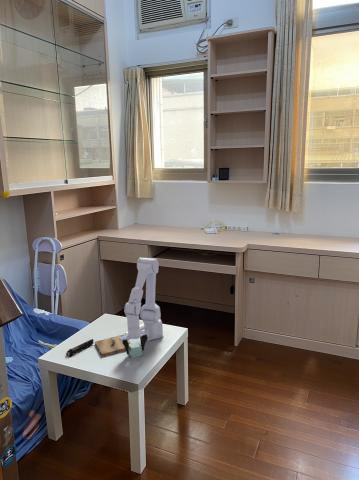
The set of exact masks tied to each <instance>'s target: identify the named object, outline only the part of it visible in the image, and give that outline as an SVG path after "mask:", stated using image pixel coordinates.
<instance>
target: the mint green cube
mask: <svg viewBox="0 0 359 480" xmlns="http://www.w3.org/2000/svg"><path fill="white" fill-rule="evenodd" d="M130 343H131V342H130ZM129 356H130V357H131V358H132V359H134V358H138V357H142V356H143V351H142V348H141V343H140V342H139V341H136V342H132V343H131V344H129Z"/></svg>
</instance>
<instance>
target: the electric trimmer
mask: <svg viewBox="0 0 359 480" xmlns="http://www.w3.org/2000/svg"><path fill="white" fill-rule="evenodd" d="M93 344H94V339H93V338H92V339H90V340H88V341H85V342H83V343H81V344H79V345H76V346H75V347H72V348H69V349H68V350H67V351H66V353H65V355H66V356H67V357H69V358H70V357H71V358H72V357H73V355H75V354H77V353H79V352H81V351H82V350H86V349H87V348H89V347H90V346H91V345H93Z"/></svg>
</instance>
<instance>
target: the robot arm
mask: <svg viewBox="0 0 359 480" xmlns="http://www.w3.org/2000/svg"><path fill="white" fill-rule="evenodd" d="M159 264H160V262H159V260H158V259H157V258H150V257H141V256H140V257H139V258H138V259H137V262H136V269H137V276H136V281H135V285H134V287H133V288H131V292H130V294H129V298H128V302H126V303H125V304H124V307H123V308H124V309H123V312H124V314H125V317H126V322H127V332H128V334H126V335H125V334H123V335H124V336H122V337H119V341H120V342H122V343H123V345H124V347H125V352H126V355H128V356H130V354H129V343H128V341H127V340H129V341H130V340H138V339H140V345H141V348H142V352H143V351H145V346H146V343H147V342H149V341H152V340H157V339H161V338H163V337H164V334H163V333H164V332H163V331H164V330H163V321H162V319H161V315H162V314H161V307H160V306H159V305H158V304H157V303H156V284H157V283H156V282H157V277H156V276H157V274H158V273H159ZM144 285H145V286H146V287H145V304H143V305H142V298H143V294H144V290H143V287H144ZM141 305H142V306H141ZM140 320H141V321H142V323H143V324H144V328H143V329H144V330H140V325H141V324H140Z"/></svg>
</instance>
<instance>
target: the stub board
mask: <svg viewBox="0 0 359 480" xmlns="http://www.w3.org/2000/svg"><path fill="white" fill-rule="evenodd" d="M124 335H125V334H120V335H116V336H113V337H107V338H104V339H101V340H96V341H94V345H95V347H96V349H97V351H98V352H99V354H100V355H101V358H103V357H106V356H111V355H114V354H118V353H121V352H126V350H125V347H124V345H123V343H122V342H120V341H119V337H122V336H124ZM127 341H128V343H129V344H131V341H130V340H127Z"/></svg>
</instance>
